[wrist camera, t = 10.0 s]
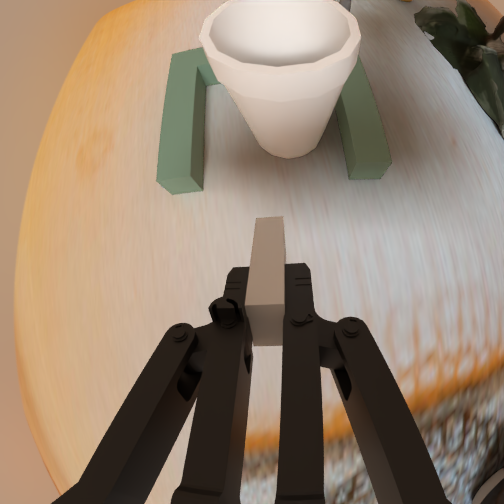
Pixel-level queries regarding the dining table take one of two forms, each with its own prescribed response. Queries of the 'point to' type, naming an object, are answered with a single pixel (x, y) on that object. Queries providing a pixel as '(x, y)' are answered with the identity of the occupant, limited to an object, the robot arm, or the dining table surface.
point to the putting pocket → (193, 113)
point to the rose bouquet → (470, 52)
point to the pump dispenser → (491, 490)
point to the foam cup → (283, 66)
